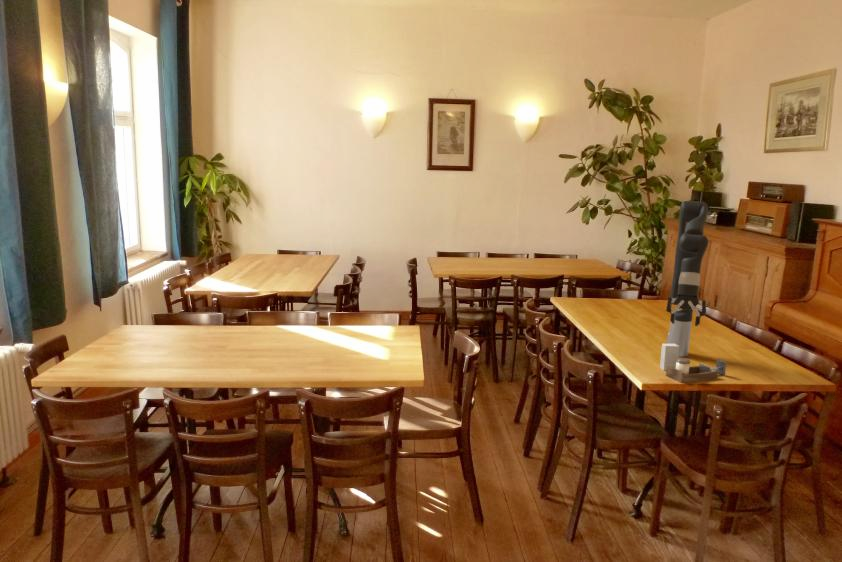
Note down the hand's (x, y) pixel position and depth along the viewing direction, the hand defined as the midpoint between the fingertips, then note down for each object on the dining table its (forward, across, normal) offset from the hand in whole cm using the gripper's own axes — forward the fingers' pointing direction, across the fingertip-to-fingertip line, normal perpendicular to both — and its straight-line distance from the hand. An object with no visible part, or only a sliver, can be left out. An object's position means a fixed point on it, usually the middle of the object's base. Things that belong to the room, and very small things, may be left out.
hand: (684, 324), depth 233 cm
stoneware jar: (+22, +2, -17) cm, 28 cm away
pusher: (+20, -8, -31) cm, 37 cm away
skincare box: (+21, +9, -26) cm, 35 cm away
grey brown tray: (+22, -2, -22) cm, 31 cm away
